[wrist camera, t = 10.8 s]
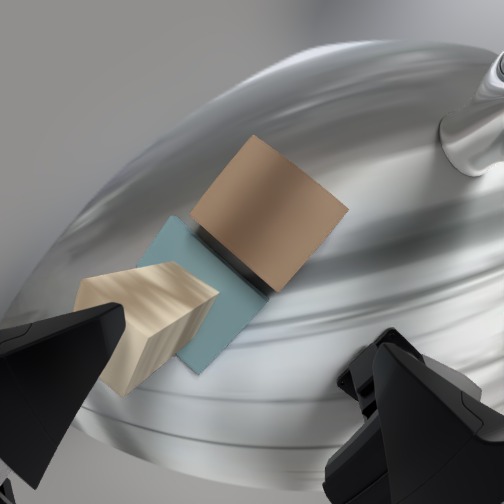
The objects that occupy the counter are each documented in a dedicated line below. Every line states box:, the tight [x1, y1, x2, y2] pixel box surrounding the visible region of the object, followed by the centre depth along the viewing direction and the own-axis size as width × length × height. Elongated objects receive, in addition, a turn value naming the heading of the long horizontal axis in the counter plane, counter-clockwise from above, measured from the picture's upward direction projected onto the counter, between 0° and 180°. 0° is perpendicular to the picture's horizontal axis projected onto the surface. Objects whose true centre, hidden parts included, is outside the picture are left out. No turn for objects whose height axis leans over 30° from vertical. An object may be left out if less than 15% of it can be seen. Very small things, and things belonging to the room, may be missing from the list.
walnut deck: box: [189, 135, 349, 293], centre depth 19 cm, size 8×7×3 cm
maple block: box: [73, 261, 220, 398], centre depth 16 cm, size 4×4×10 cm
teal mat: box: [135, 216, 269, 375], centre depth 21 cm, size 10×9×1 cm
